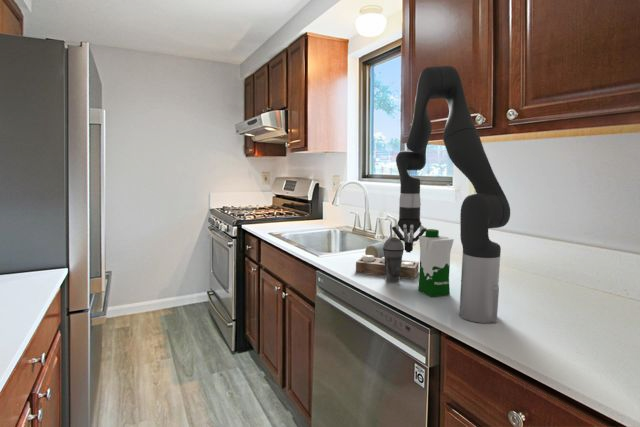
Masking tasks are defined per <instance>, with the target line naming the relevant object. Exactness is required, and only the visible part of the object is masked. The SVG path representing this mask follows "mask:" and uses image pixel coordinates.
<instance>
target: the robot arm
mask: <svg viewBox="0 0 640 427" xmlns="http://www.w3.org/2000/svg"><path fill="white" fill-rule="evenodd" d="M435 99H436V100H437V99H444V100H445V101H446V103H447V106H448V110H449V112H448V116H447V120H446V123H445V126H444V129H443V133H442V140H443V143H444V147H445V149H446V152H447V155H448V157H449V159H450V160H451V162H452V163H453V165H454V166H455V167H456V168H457V169H458V170H459V171H460V173H462V174H463V175H464V176H465V177H466V178H467V179H468V181H469V182H470V183H471V185H472V186H473V188H474V191H475V193H473V194H469V195H467V196H466V197H465V198H464V200H463V201H462V204H461V207H460V217H459V220H460V221H459V223H460V225H459V226H460V227H459V228H460V242H461V246H462V259H461V260H462V262H461V279H460V296H459V298H460V299H459V316H460V317H461V318H463V319H464V320H467V321H470V322H474V323H479V324H480V323H482V324H488V323H489V324H490V323H495V324H497V323H498V308H499V297H500V296H499V294H500V293H499V292H500V285H499V281H500V280H499V279H500V269H501V268H500V266H501V264H500V263H501V250H502V248H501V246H500V245H501V244H499V243H498V242H494V241H492V240H491V239H490V237H489V229H498V228H499V229H500V228H502V227H505V226H506V225H507V224H508V223H509V221H510V218H511V207H510V203H509V200H508V199H507V196H506V195H505V192H504V191H503V189H502V187H501V184H500V183H499V180H498V178H497V177H496V175H495V173H494V171H493V168H492V166H491V164H490V161H489V159H488V156H487V154H486V151H485V148H484V147H483V143H482V139H481V138H480V134H479V132H478V130H477V127H476V125H475V123H474V120H473V118H472V114H471V112H470V109H469V106H468V102H467V99H466V95H465V91H464V87H463V83H462V80H461V77H460V74H459V72H458V69H457V68H455V67H454V66H452V65H445V66H444V65H439V66H428V67H425V68H423V69H422V71H421V72H420V74H419V76H418V81H417V86H416V93H415V100H414V107H413V116H412V122H411V126H410V130H409V133H408V136H407V140H406V144H405V145H406V147H407V149H408V150H401V151H399V152H398V153H397V155H396V158H395V162H396V163H395V164H396V167H397V171H398V175H399V179H400V180H399V182H400V186H399V188H400V189H399V190H400V194H399V205H398V206H399V207H398V208H399V211H398V212H399V213H398V221H397V224H396V225H394V226H392V232H393V233H395V235H396V237H397V238H398V239H400V240H401V242H404V251H405V253H411V252H413V249H414V243H415V242H418V240H419V236H424V234H425V233H426V230H427V227H424V225H422V222H421V206H422V205H421V204H422V203H421V194H420V193H421V179H420V177H417V176H411V175H410V174H409V173H408V171H421V170H422V169H424V168H425V166H426V164H427V147H428V143H429V142H430V138H431V135H432V130H433V127H432V126H433V125H432V122H431V119H430V116H429V113H428V105H429V101H430V100H435ZM400 230H401V231H402V232H401V231H400ZM418 230H419V233H417V235H416V236H415V234H416V232H418ZM402 233H403V234H402Z"/></svg>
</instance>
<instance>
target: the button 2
mask: <svg viewBox="0 0 640 427" xmlns="http://www.w3.org/2000/svg"><path fill="white" fill-rule="evenodd" d="M401 265H405V266H413V263H411V262H402V263H401Z"/></svg>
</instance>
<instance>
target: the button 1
mask: <svg viewBox="0 0 640 427" xmlns="http://www.w3.org/2000/svg"><path fill="white" fill-rule="evenodd" d="M362 257H363V261H366V262H374V256H373V255H366V254H364V255H362Z"/></svg>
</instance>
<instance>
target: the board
mask: <svg viewBox="0 0 640 427" xmlns="http://www.w3.org/2000/svg"><path fill="white" fill-rule="evenodd" d="M402 262H411V263H413V266H405V265H401V271H400V278H403V279H410V280H411V279H413V280H415V279H416V277H417V276H418V274H419V271H420V261H416V260H415V261H413V260H405V259H404V260H403V259H402ZM402 262H401V263H402ZM355 273H360V274H367V275H375V274H376V275H377V276H384V277H386V275H385V263H382V258H374V262H366V261H363V256H362V257H360V258H359V259H358V260H357V261H356V262H355Z"/></svg>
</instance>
